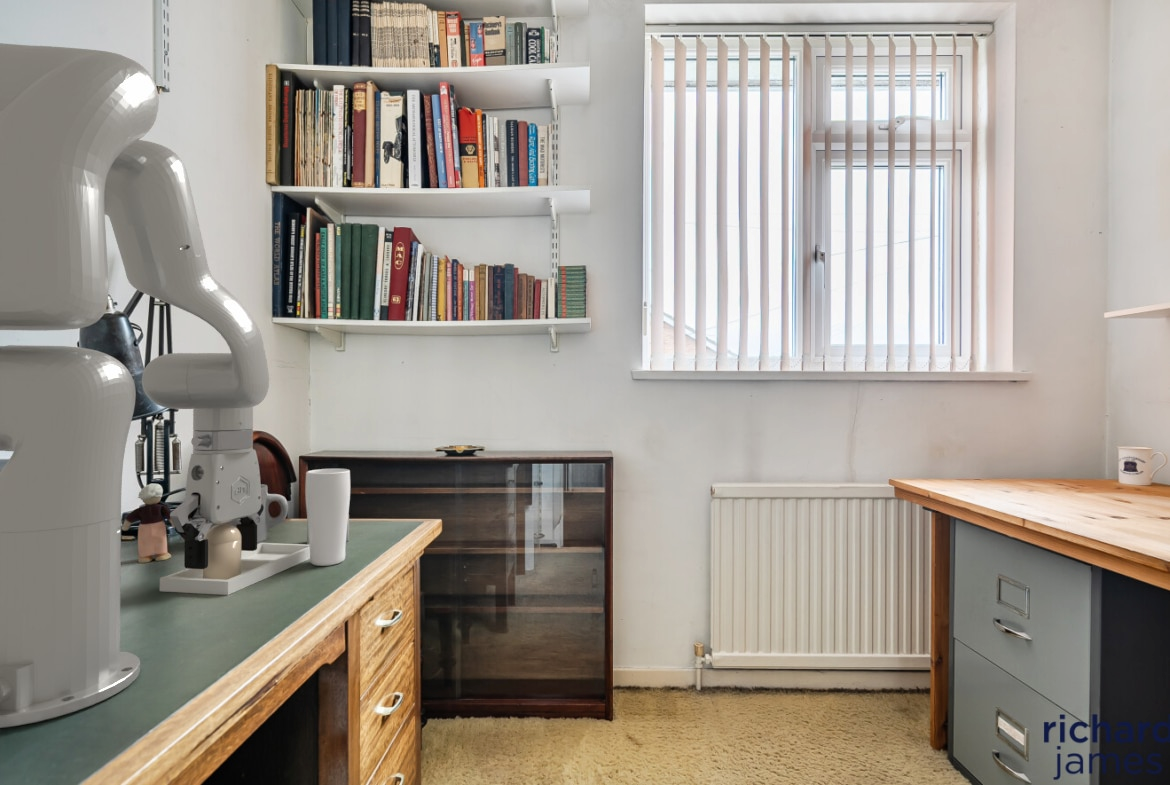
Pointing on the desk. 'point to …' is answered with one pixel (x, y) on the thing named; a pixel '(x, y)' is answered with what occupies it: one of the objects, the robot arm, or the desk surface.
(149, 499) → the grandmother figurine
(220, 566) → the beige domed cylinder
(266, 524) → the coffee mug
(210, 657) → the desk surface
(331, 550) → the drinking glass
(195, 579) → the white divided tray
